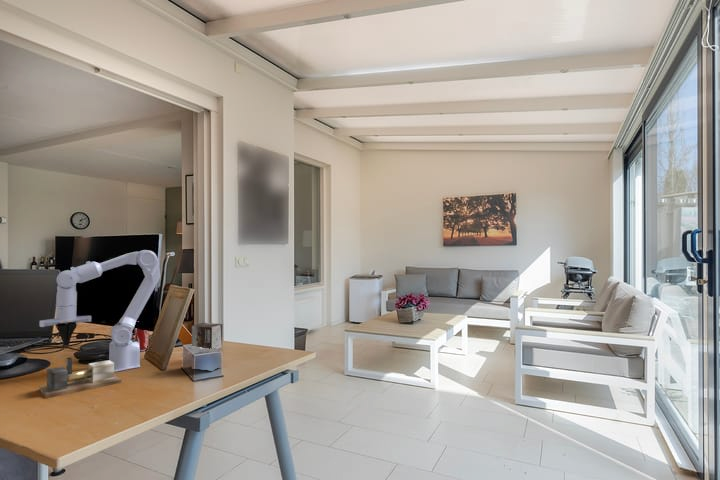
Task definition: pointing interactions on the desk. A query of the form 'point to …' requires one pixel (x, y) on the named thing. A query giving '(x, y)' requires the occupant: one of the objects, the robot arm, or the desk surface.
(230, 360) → the desk surface
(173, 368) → the desk surface
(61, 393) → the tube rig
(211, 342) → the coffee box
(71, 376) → the slip tube
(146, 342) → the soda can
